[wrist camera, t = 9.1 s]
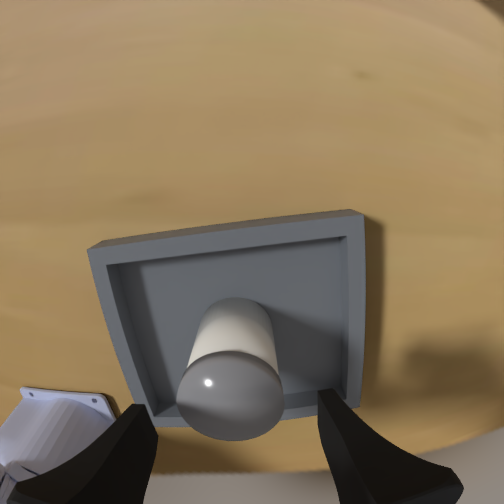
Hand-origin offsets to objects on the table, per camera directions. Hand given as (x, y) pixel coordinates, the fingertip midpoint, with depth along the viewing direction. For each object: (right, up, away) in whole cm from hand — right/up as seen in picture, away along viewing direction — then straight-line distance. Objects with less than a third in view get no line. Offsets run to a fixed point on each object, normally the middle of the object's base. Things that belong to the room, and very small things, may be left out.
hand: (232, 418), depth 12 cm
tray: (0, +2, +8) cm, 8 cm away
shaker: (0, +2, +7) cm, 8 cm away
